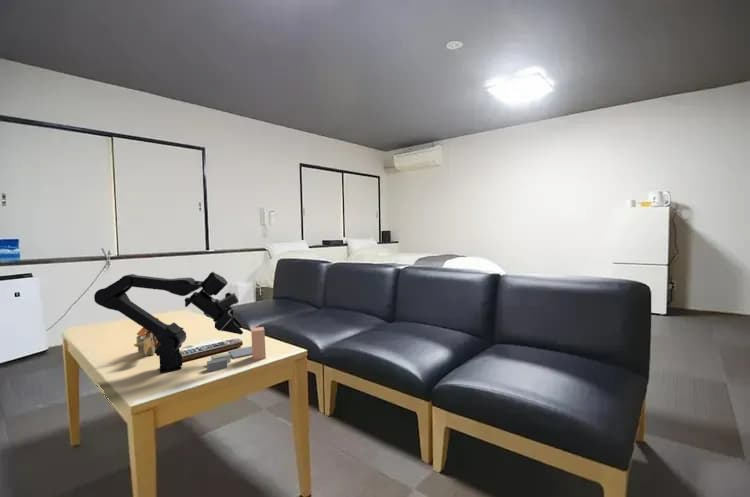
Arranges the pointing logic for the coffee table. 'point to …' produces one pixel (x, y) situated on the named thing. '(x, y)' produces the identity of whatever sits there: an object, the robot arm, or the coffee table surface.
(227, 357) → the sage brick
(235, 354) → the slate pad
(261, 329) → the terracotta block
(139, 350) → the toy house
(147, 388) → the coffee table surface
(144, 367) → the coffee table surface
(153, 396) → the coffee table surface
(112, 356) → the coffee table surface
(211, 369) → the charcoal brick
